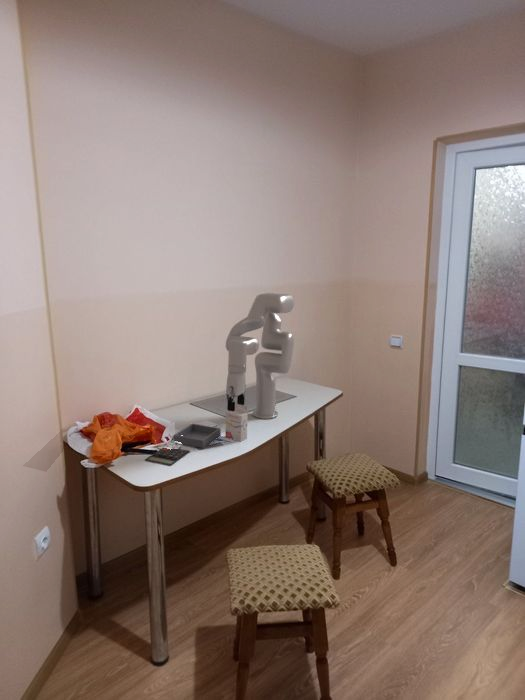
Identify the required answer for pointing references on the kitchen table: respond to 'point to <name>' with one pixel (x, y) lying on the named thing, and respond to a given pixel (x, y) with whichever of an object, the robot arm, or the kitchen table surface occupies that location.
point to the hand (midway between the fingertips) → (236, 407)
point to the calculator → (167, 456)
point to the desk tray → (197, 435)
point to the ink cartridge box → (237, 423)
